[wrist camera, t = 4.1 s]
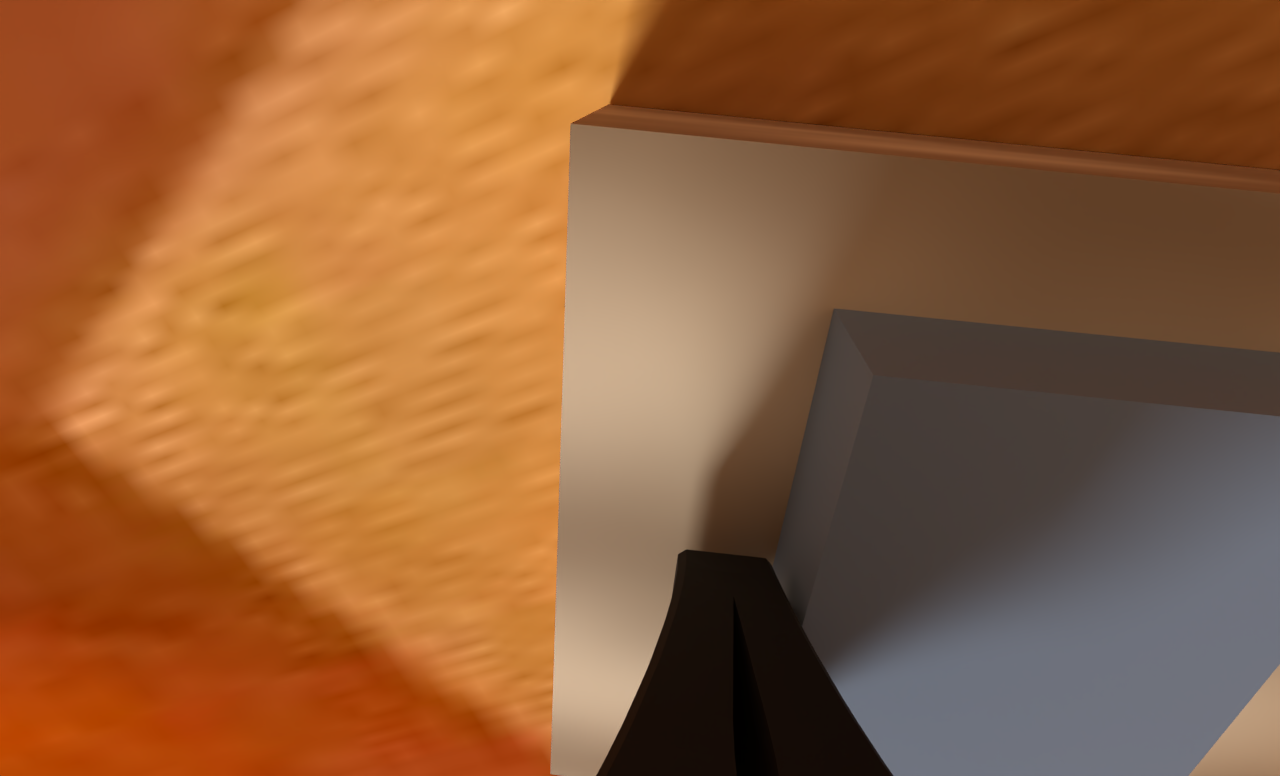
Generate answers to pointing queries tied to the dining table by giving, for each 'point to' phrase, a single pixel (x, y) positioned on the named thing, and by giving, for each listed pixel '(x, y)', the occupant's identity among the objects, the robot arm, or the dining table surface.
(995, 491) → the blue-grey rectangular block
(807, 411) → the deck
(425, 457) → the dining table surface
